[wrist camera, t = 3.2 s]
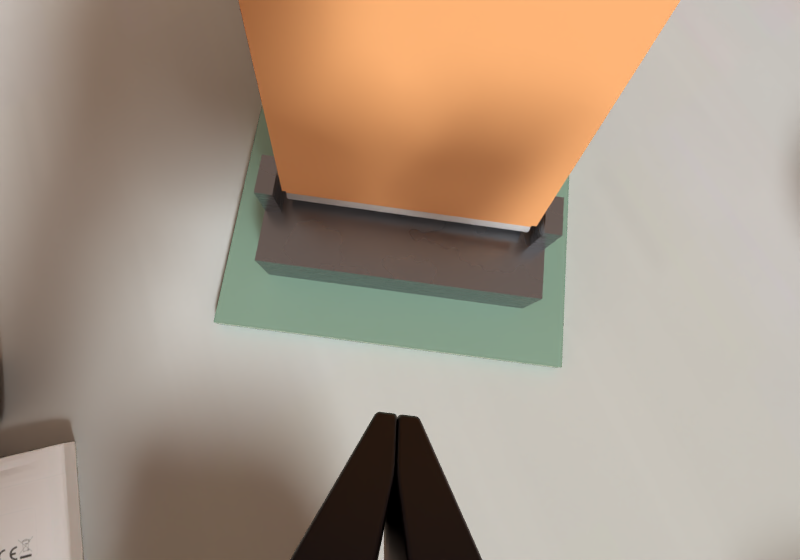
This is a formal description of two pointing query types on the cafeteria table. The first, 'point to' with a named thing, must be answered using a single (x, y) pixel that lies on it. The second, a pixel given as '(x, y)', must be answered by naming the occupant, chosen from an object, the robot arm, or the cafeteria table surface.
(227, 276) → the green flat slab
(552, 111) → the orange upright panel
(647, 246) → the cafeteria table surface
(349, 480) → the robot arm
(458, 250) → the grey stand
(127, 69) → the cafeteria table surface
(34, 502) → the external hard drive
